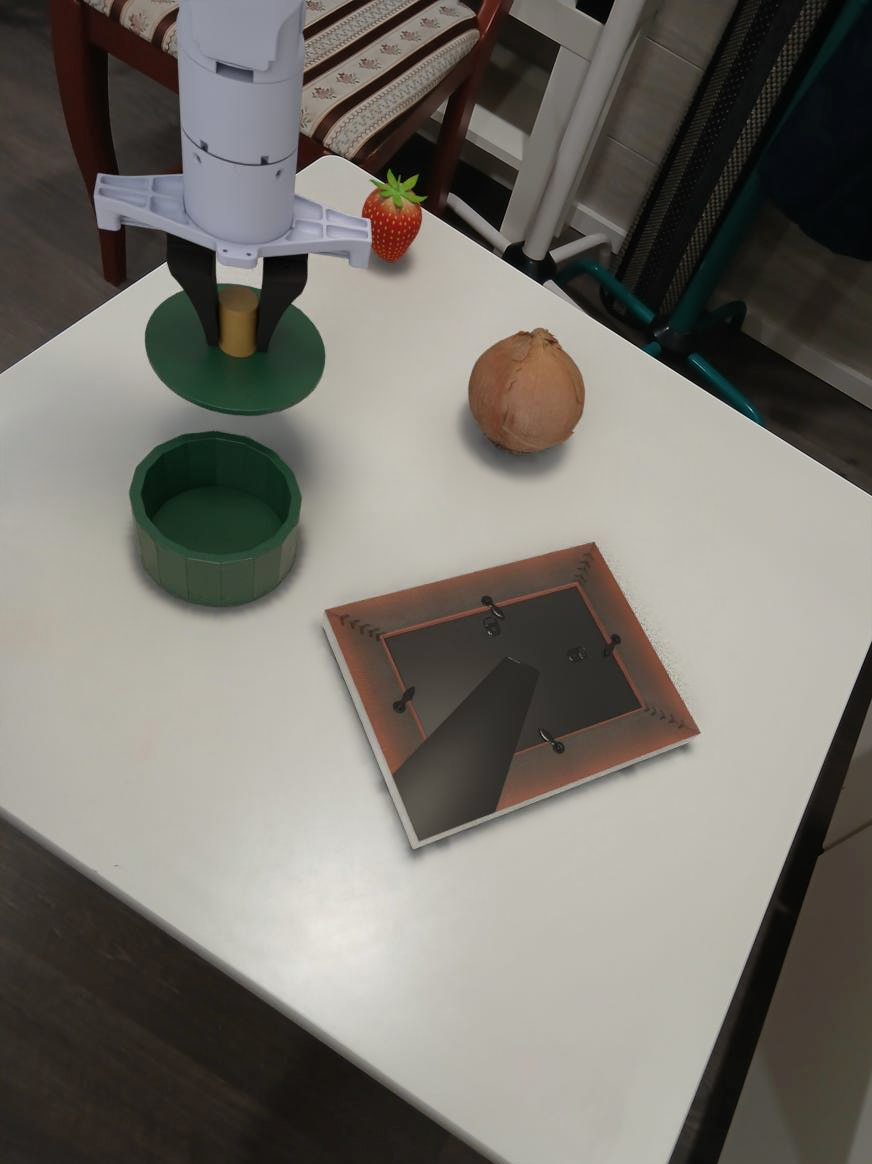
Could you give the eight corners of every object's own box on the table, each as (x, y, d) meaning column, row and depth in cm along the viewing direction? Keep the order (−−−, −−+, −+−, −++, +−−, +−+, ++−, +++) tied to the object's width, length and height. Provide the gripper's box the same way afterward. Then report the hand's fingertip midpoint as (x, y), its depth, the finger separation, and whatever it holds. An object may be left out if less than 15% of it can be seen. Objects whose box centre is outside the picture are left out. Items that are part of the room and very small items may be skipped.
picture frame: (411, 852, 52) (686, 745, 60) (419, 841, 50) (702, 732, 58) (320, 625, 57) (583, 558, 66) (324, 607, 55) (595, 539, 64)
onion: (488, 421, 75) (513, 304, 69) (584, 457, 72) (618, 339, 66) (435, 446, 67) (459, 318, 62) (540, 488, 64) (575, 357, 59)
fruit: (404, 285, 76) (422, 205, 69) (349, 265, 75) (361, 182, 68) (418, 250, 78) (437, 169, 72) (365, 230, 78) (378, 147, 71)
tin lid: (108, 365, 52) (98, 304, 48) (210, 272, 58) (209, 211, 54) (268, 451, 52) (271, 397, 48) (353, 349, 58) (362, 293, 54)
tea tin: (105, 559, 56) (94, 510, 51) (194, 459, 61) (192, 407, 57) (244, 632, 56) (246, 590, 51) (321, 526, 61) (329, 479, 57)
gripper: (73, 150, 38) (108, 370, 50) (387, 205, 42) (353, 397, 54) (90, 63, 42) (119, 287, 53) (381, 121, 46) (349, 319, 57)
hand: (237, 337), depth 54 cm, fingers closed on tin lid, 2 cm apart
